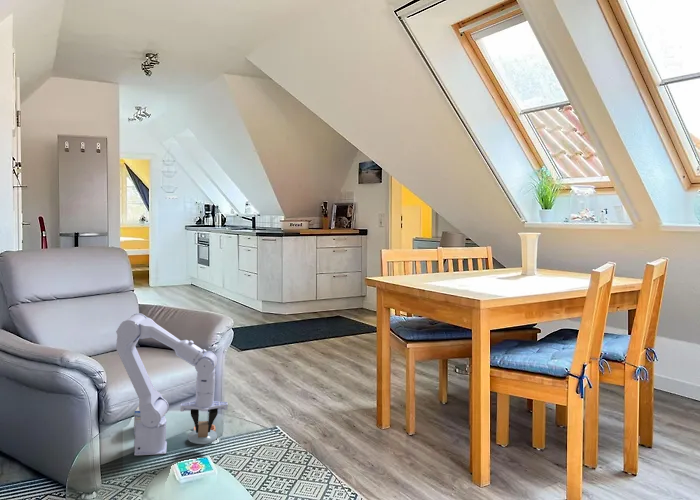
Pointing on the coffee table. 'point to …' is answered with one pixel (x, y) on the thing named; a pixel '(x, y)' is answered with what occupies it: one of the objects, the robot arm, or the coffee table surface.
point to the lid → (202, 434)
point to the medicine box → (137, 418)
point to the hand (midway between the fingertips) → (202, 431)
